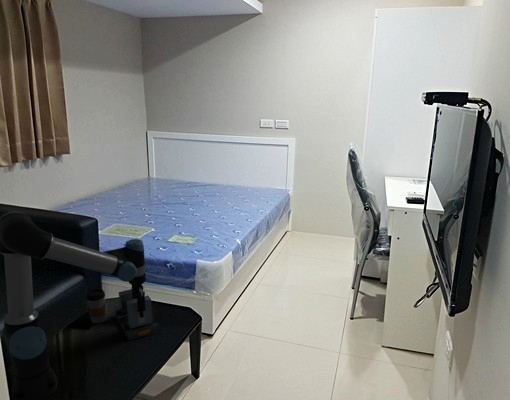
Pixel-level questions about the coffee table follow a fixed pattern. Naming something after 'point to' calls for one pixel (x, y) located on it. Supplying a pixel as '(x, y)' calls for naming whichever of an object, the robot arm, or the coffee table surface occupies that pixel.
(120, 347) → the coffee table surface
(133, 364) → the coffee table surface
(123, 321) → the rack
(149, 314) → the gray rectangular block
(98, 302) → the coffee cup
